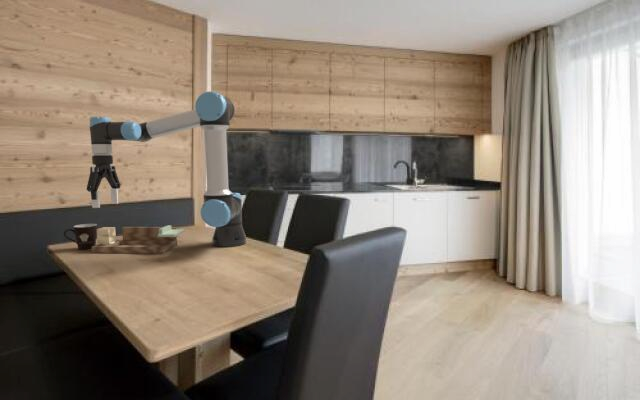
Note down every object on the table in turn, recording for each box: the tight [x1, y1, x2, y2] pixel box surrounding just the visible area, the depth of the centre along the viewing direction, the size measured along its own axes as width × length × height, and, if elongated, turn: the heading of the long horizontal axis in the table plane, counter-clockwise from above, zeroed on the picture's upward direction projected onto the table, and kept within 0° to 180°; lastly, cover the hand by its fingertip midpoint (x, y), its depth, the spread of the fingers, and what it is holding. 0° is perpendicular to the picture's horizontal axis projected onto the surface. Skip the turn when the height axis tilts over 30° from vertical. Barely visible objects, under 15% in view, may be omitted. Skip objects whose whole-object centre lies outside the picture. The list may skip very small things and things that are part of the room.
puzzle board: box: [91, 226, 178, 254], centre depth 166 cm, size 30×14×8 cm, turn 88°
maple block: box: [96, 226, 117, 244], centre depth 165 cm, size 5×5×6 cm
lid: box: [158, 224, 186, 237], centre depth 165 cm, size 7×11×3 cm, turn 178°
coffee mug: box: [63, 223, 98, 251], centre depth 167 cm, size 12×9×10 cm
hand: (105, 205), depth 164 cm, fingers open, 13 cm apart
